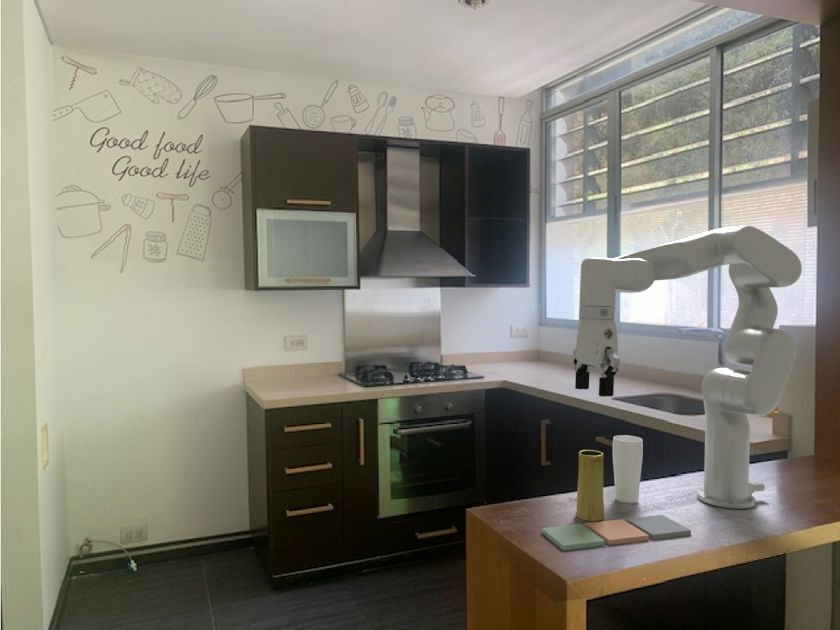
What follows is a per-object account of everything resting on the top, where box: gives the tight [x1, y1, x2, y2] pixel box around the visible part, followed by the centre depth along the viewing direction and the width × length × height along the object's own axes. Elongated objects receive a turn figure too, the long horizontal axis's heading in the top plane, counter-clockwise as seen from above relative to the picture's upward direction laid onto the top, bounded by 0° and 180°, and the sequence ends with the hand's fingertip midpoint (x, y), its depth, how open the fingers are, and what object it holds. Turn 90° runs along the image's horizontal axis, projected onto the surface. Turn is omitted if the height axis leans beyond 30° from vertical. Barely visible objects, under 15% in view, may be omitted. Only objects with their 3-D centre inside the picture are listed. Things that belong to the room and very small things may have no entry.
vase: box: [575, 449, 605, 523], centre depth 136 cm, size 6×6×14 cm
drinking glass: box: [612, 434, 644, 505], centre depth 147 cm, size 7×7×15 cm
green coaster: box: [541, 523, 606, 551], centre depth 124 cm, size 9×9×1 cm
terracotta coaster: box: [584, 518, 650, 546], centre depth 127 cm, size 9×9×1 cm
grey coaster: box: [626, 514, 692, 540], centre depth 130 cm, size 9×9×1 cm
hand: (593, 392), depth 136 cm, fingers open, 9 cm apart
